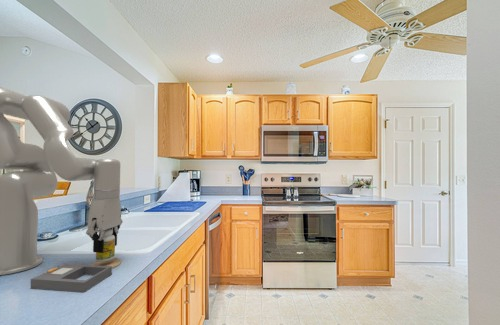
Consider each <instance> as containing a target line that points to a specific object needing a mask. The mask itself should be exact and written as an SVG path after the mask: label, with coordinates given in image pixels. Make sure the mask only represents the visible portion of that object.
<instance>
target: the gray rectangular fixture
mask: <svg viewBox="0 0 500 325" xmlns="http://www.w3.org/2000/svg"><path fill="white" fill-rule="evenodd" d="M112 270H113V268H112V266H97V265H91V264H78V263H77V264H76V263H63V264H61V265H59V266H57V267H53V268H51V269H49V270H47V271H46V272H44V273H41V274H39V275H37V276H34V277H32V278H30V289H35V290H49V291H62V292H75V293H85V292H86V291H88V290H90V289H91V288H93V287H95V286H97V285H98V284H99V283H101V282H102V281H103V280H106V279H107V278H108V277H110V276H112V273H113V271H112ZM82 276H90V277H89V278H86V279H79V278H81V277H82Z"/></svg>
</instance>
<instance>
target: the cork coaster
mask: <svg viewBox="0 0 500 325" xmlns="http://www.w3.org/2000/svg"><path fill="white" fill-rule="evenodd" d="M121 263H122V259H120V258H118V257H117V258H116V257H114V258H113V259H111V260H108V261H101V262H100V261H97V260H96V261H94V262H92V263H91V264H90V265H97V266H112V269H114V268H116V267H118V266H120V265H121Z"/></svg>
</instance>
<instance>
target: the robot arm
mask: <svg viewBox="0 0 500 325" xmlns="http://www.w3.org/2000/svg"><path fill="white" fill-rule="evenodd" d="M5 115H6V116H9V117H10V116H11V117H15V118H18V119H22V120H26V121H29V122H30V123H31V125H32V126H33V127H34V128H35V130H36V131H37V133H38V134H39V135H40V136H41V138H42V139H43V141H44V142H43V147H41V146H39V145H36V144H32V143H24V142H23V141H22V140H21V139H20V137H19V135H18V132H17V129H16V128H15V126H14V125H13V124H12V123H11V121H10V120H9V119H7V118H6V116H5ZM70 119H71V112H70V109H69V108H68V106H66V105H64V103H62V102H60V101H56V100H55V99H51V98H49V97H45V96H44V95H38V94H31V95H24V94H22V93H19V92H16V91H14V90H11V89H7V88H4V87H1V86H0V170H10V171H9V172H6V173H3V174H0V276H5V275H10V274H16V273H20V272H23V271H27V270H30V269H33V268H34V267H38V266H39V265H40V264H43V260H44V258H43V257H42V256H37V255H38V254H37V253H38V230H39V227H38V224H39V223H38V222H39V221H38V220H39V211H38V206H37V204H36V203H35V200H34V199H35V198H43V197H47V196H51V195H52V194H53V193H55V191H56V190H57V187H58V185H59V182H58V178H57V177H59V178H61V179H62V180H65V181H68V182H76V181H78V182H79V181H91V180H92V181H93V200H91V203H90V206H89V210H88V218H87V230H86V231H85V234H86V235H87V236H89V237H90V239H91V241H93V243H92V244H93V246H92V247H93V249H92V252H93V253H96V252H98V253H102V252H103V249H104V240H102V238H103V234H104V230H107V229H113V234H112V235H114V236H115V247H116V246H117V245H118V233H119V229H120V228H121V226H122V224H123V222H124V221H123V219H122V205H121V198H120V193H121V192H120V191H121V190H120V188H121V162H120V160H118V159H114V158H113V159H111V158H104V159H103V158H99V159H97V158H96V159H95V158H94V159H93V158H87V157H76V156H75V155H74V153H73V152H72V151H71V149H70V148H69V146H68V144H67V141H69V140H70V139H71V138H72V137H73V135H74V130H73V128H72V127H71V125H70V124H69V121H70ZM12 170H13V171H12ZM14 170H15V171H14ZM16 170H17V171H16ZM19 170H20V171H19ZM99 232H100V233H99Z"/></svg>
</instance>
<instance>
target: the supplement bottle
mask: <svg viewBox="0 0 500 325" xmlns="http://www.w3.org/2000/svg"><path fill="white" fill-rule="evenodd" d="M99 233H100V232H98V234H99ZM112 234H113V229H107V230H104V234H103V238H102V240H104V249H103V252H102V253H98V252H95V260H96V261H100V262H101V261H108V260H111V259H113V258H115V256H116V255H115V253H116V249H115V248H116V246H115V236H114V235H112Z"/></svg>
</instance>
